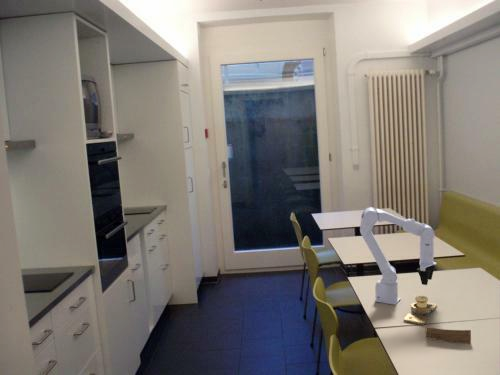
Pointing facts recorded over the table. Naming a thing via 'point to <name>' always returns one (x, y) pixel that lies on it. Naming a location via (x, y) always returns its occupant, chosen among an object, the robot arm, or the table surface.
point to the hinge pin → (421, 301)
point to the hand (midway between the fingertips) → (426, 281)
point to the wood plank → (449, 335)
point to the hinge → (419, 314)
